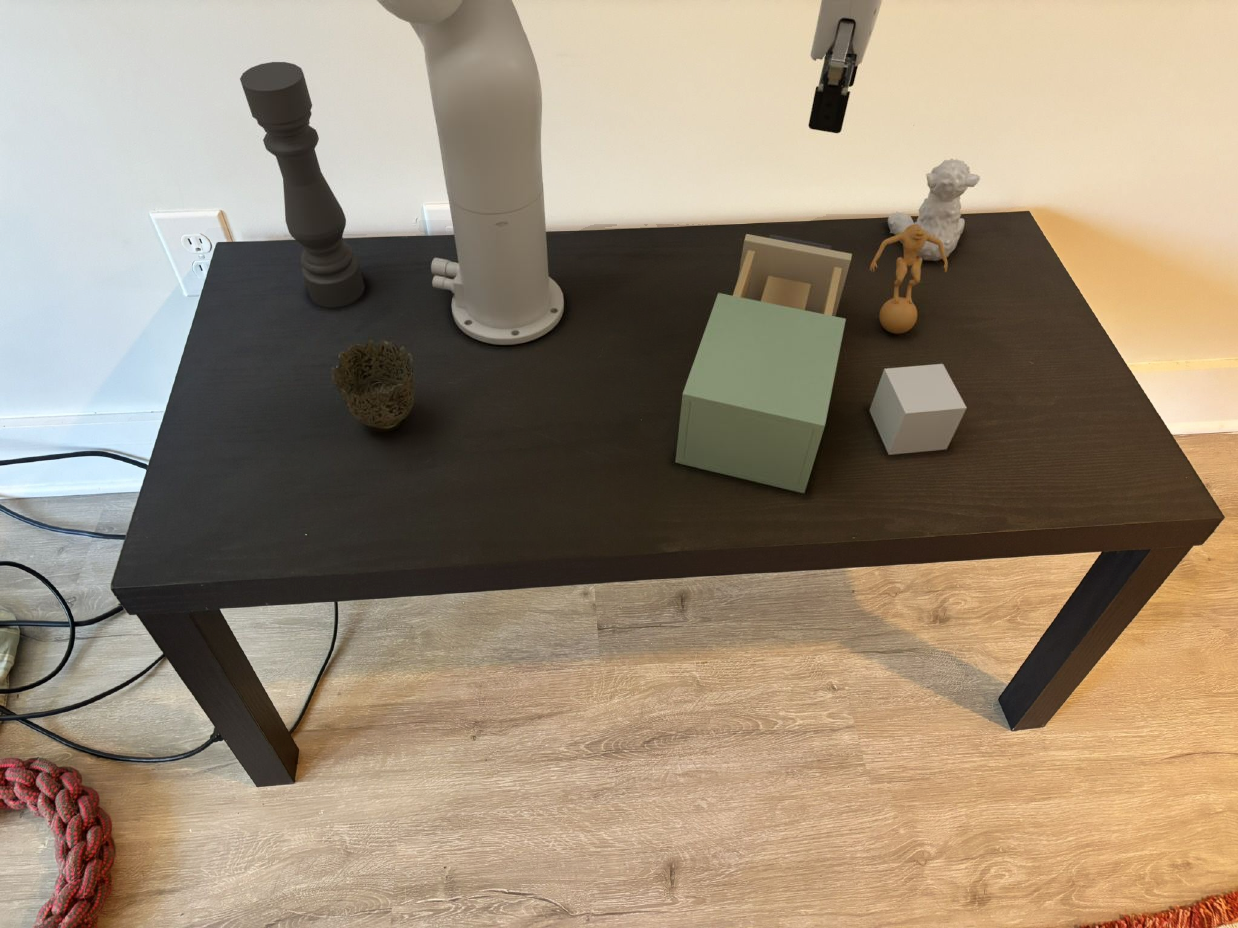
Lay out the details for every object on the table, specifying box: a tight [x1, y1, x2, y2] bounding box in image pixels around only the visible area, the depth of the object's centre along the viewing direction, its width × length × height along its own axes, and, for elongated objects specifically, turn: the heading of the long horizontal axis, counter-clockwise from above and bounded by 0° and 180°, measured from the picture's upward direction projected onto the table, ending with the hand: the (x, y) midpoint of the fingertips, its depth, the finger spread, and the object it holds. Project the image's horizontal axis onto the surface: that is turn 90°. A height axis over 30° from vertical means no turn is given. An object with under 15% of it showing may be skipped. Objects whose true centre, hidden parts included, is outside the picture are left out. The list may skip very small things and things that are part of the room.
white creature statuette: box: [887, 158, 981, 262], centre depth 100 cm, size 10×9×12 cm
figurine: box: [869, 225, 949, 335], centre depth 91 cm, size 8×6×12 cm
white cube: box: [869, 363, 967, 456], centre depth 83 cm, size 6×6×6 cm
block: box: [761, 276, 811, 310], centre depth 90 cm, size 5×5×5 cm
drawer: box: [732, 233, 853, 317], centre depth 91 cm, size 18×11×8 cm, turn 163°
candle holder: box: [239, 61, 366, 308], centre depth 88 cm, size 6×6×25 cm
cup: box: [330, 339, 416, 435], centre depth 82 cm, size 8×7×8 cm
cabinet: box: [675, 292, 847, 494], centre depth 82 cm, size 15×13×10 cm
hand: (831, 106), depth 86 cm, fingers open, 9 cm apart
